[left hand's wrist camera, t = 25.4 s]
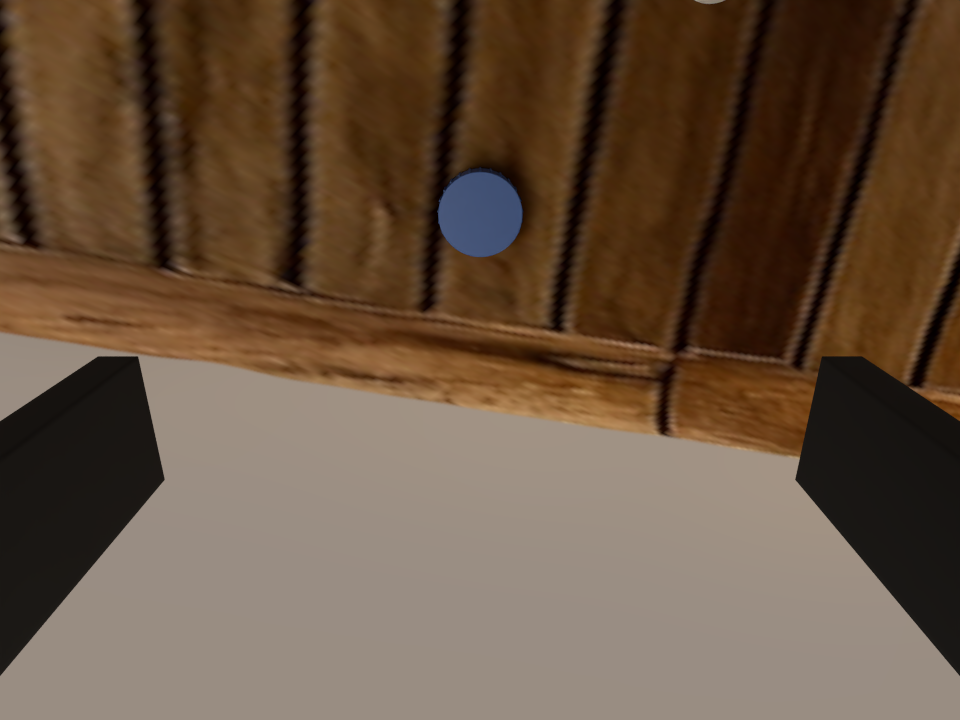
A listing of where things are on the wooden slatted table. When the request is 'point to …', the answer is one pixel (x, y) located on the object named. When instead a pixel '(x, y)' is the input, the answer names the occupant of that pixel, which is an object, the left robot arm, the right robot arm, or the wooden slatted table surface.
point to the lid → (480, 212)
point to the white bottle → (709, 1)
